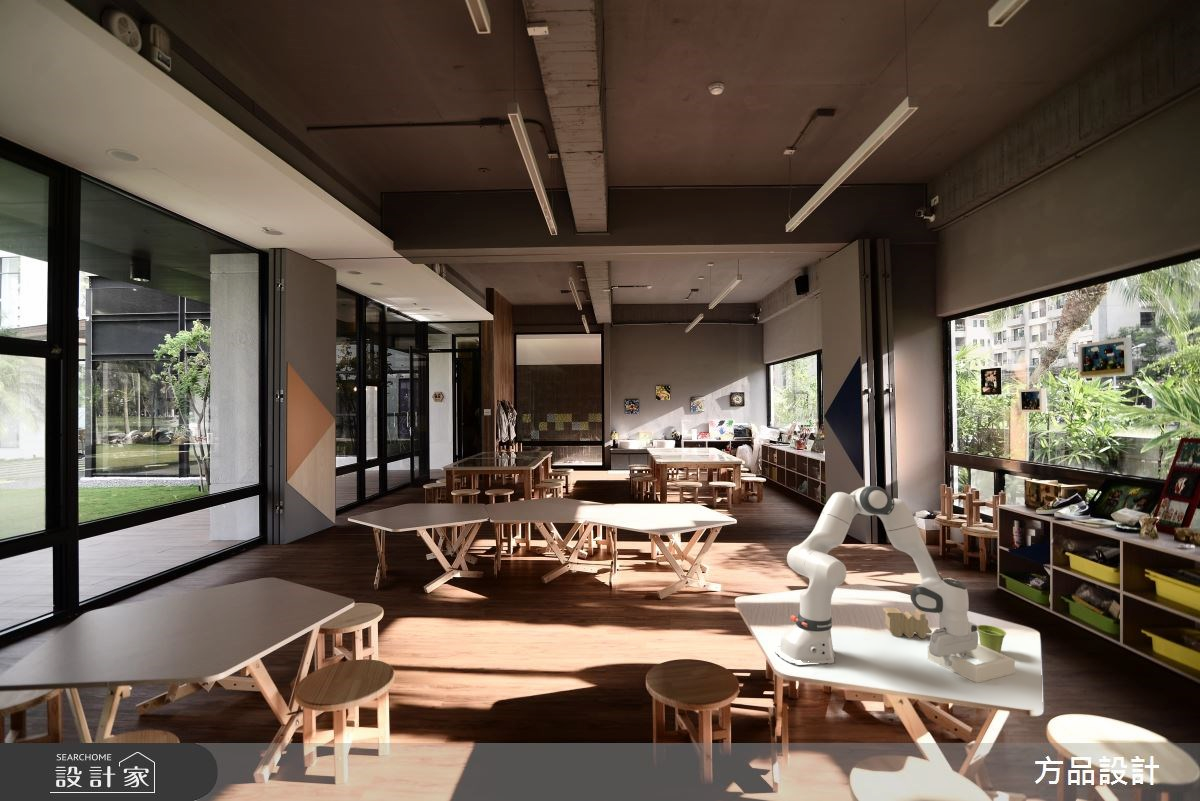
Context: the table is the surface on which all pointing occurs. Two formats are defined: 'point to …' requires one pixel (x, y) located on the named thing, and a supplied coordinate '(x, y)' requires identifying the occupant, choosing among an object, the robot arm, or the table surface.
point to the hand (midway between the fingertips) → (953, 664)
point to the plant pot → (991, 637)
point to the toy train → (906, 622)
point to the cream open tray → (990, 669)
